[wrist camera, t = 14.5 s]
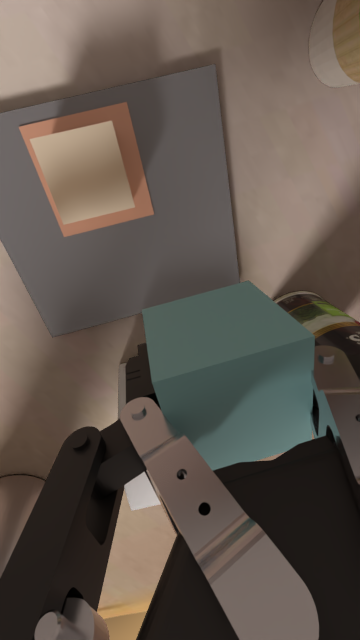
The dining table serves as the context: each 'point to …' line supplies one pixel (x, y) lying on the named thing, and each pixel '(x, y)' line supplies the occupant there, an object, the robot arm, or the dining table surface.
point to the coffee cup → (336, 43)
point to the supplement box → (140, 487)
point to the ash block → (84, 172)
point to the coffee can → (323, 320)
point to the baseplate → (131, 224)
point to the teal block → (232, 373)
